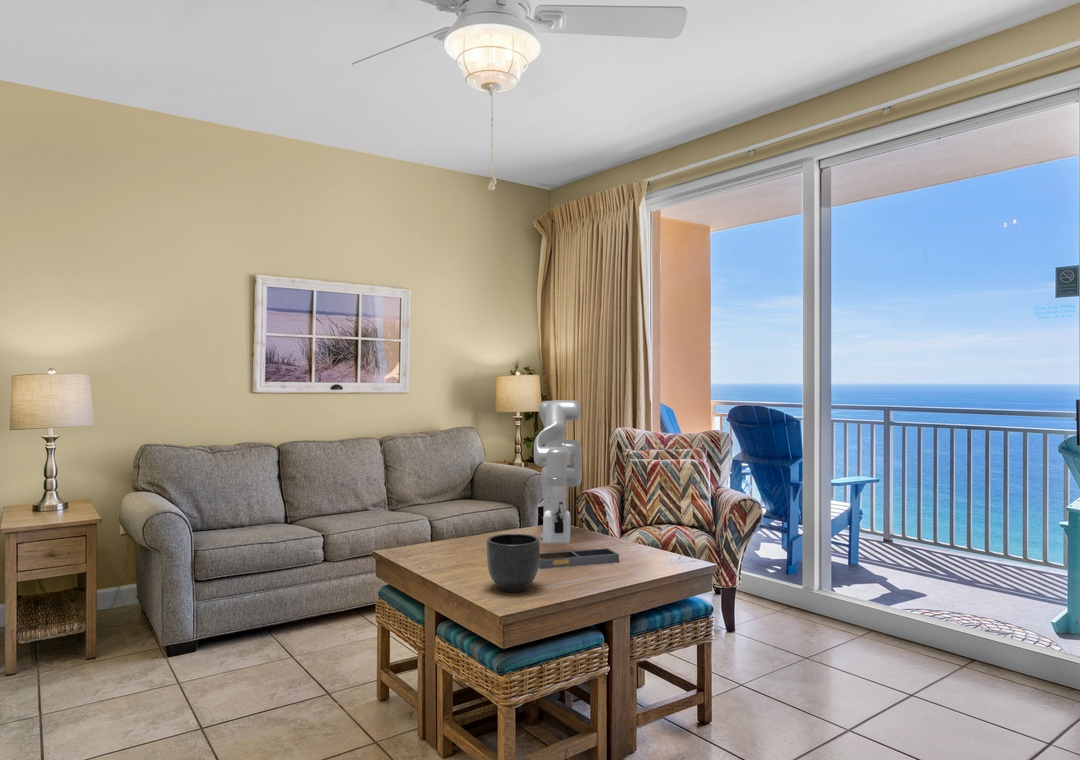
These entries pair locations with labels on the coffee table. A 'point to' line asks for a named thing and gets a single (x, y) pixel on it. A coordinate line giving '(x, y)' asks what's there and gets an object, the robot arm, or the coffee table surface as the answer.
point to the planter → (513, 560)
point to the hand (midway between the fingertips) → (556, 530)
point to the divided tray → (577, 558)
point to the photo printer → (549, 528)
